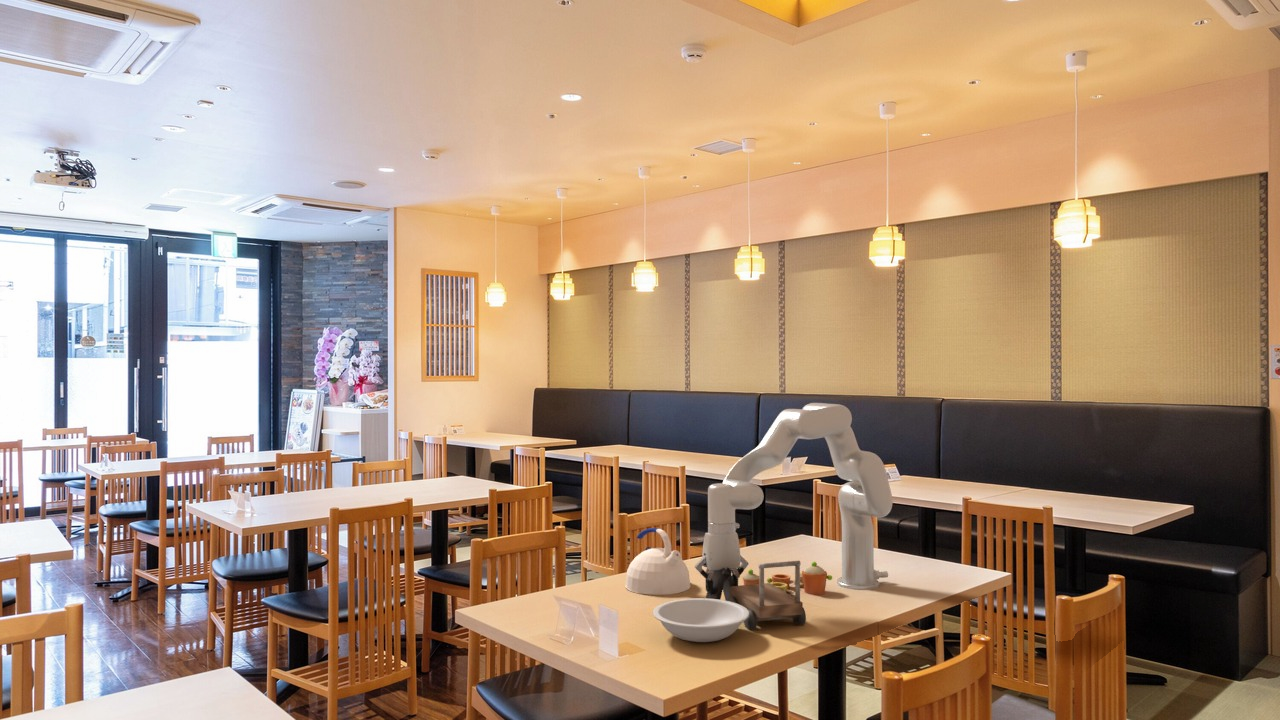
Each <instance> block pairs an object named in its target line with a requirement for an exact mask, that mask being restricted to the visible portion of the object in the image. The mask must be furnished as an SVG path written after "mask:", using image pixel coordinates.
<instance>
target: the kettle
mask: <svg viewBox="0 0 1280 720" xmlns="http://www.w3.org/2000/svg"><path fill="white" fill-rule="evenodd" d="M651 533H657V534H658V535H659V536H660V537H661V539H662V541H663V546H664V548H662V547H650V546H647V547H645V549H644V550H643V551H641V552H640V553H639V554H637V555H636V556H635V557H634V559H633V560H632V561H631V562H630V563H629V565H628V568H627V571H626V577H625V586H624V587H625V588H626V589H627V590H628V591H630V592H632V593H635V594H640V595H648V596H649V595H650V596H666V595H675V594H680V593H684V592H686V591H689V589H690V588H691V587H692V586H691V585H692V584H691V578H690V571H689V569H688V566H687V564H686V563H685V561H684V560H683V559H682V554H681V552H680V551H679V550H675V549H674V550H672V543H671V539H670V537H669V534H668V533H667V532H666V531H665V530H663V529H662V528H659V527H649V528H646V529H644V530H642V531H640V533H639V534H637V536H636V539H638V540H641V539H643V538H644V537H645V536H647V534H651Z"/></svg>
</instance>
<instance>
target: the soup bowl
mask: <svg viewBox="0 0 1280 720" xmlns="http://www.w3.org/2000/svg"><path fill="white" fill-rule="evenodd" d="M652 614H653V616H654V618H655V619H656V620H658V621H660V623H661V624H662V626H663V627H664V629H666V630H667V632H669V633H670V634H671V635H673V636H674V637H676V638H678V639H680V640H685V641H687V642H696V643H711V642H716V641H721V640H723V639H726V638H728V637H730V636H732V635H733V634H734V633H735V632H736V631H737V630H738V629H739V628H740V626H741V624H742V623H744V621H745V620H746V619H747V618H748V617H749V611H748V610H747V609H746V608H745V607H743V606H742V605H739V604H737V603H733V602H730V601H726V600H725V599H720V600H719V599H708V598H706V597H705V598H703V597H702V598H701V597H699V598H698V597H697V598H696V597H695V598H681V599H674V600H670V601H666V602H663V603H661V604H659V605H657V606H655V607H654V609H653V612H652Z"/></svg>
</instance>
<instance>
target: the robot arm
mask: <svg viewBox="0 0 1280 720" xmlns="http://www.w3.org/2000/svg"><path fill="white" fill-rule="evenodd" d="M852 416H853V415H852V413H851V411H850V409H849V408H848V407H847V406H845V405H842V404H839V403H837V404H836V403H825V402H810V403H808V404H805V405H804V406H803V407H802V408H801V409H800V408H786V409H784V410H781V412H779V414H778V415H777V417H776V418H775V419H774V421H773V423H772V424H771V425H770V427H769V429H768V430H767V432H766V433H765V434H764V436H763V438H762V439H761V441H760V442H759V444H758V445H757V446H756V447H755V448H754V449H752V450H751V451H749V452H748V453H747V454H745V455H743V457H741V458H740V459H738V461H737V462H735V463H734V465H733V466H732V467H731V468H730V469H729V471H728V473H727V475H726V476H725V478H724V479H723V481H722V483H721V482H720V483H711V484H710V485H709V486H708V487H707V532H705V533H704V538H703V543H702V544H703V545H702V554H701V555H702V557H701V558H700V559H699V560H698V561H697V563H696V564H695V565H694V568H695V569H696V570H697V572H698V573H699V574H700V575H701V576H703V577H704V579H705V591H706V594H707V593H709V594H710V595H713V580H712V576H713V573H714V571H715V570H721V569H722V568H725V570H727V568H729V569H730V570H731V579H732V582H733V585H734V586H739V579H740V577H741V575H742V574H743V573H744V571H745V570H746V568H747V567H748V566H749V564H750V563H749V561H747V560H746V559H745V558H744V557H743V556H742V555H741V548H740V546H741V545H740V540H739V536H738V533H737V532H736V531H737V529H739V528H740V523H739V522H736V510H754V509H756V508H758V507H760V505H762V503H763V501H764V497H765V496H764V491H763V489H762V488H761V487H760V486H759V485H757V484H756V483H753V482H751V480H752V479H754V477H756V476H758V474H760V473H763V472H765V471H768V470H771V469H773V468H776V467H777V466H780V465H781V464H783V462H784V461H785V460H786V457H788V455H789V453H790V452H791V451H792V449H793V447H794V445H795V444H796V442H797V441H798V440H799V439H801V440H816V439H821V438H823V439H824V440H825V441H826V444H827V447H828V449H829V453H830V457H831V461H832V463H833V467H834V471H835V473H836V475H837V476H838V477H839V478H840V479H841V480H845V481H847V482H846V483H844V484H842V485H841V487H840V489H839V491H838V493H837V499H838V501H837V503H838V506H839V512H840V518H841V519H840V520H841V577H838V578H837V579H836V584H837V585H838V586H839V587H841V588H844V589H848V590H849V589H851V590H863V591H864V590H865V591H867V590H874V589H877V588H879V587H880V581H879V579H880V578H882V579H884V578H886V579H887V578H889V573H888V571H887V570H884V571H880V570H879V569H878V570H877V569H875V564H874V563H875V562H874V561H875V559H874V557H875V556H874V554H875V553H874V551H875V550H874V548H875V547H874V545H875V543H874V534H875V533H874V525H873V524H874V523H873V520H872V518H884V517H886V516H888V515H889V514H890V512H891V511H892V508H893V494H892V491H891V487H890V483H889V479H888V475H887V470H886V467H885V464H884V462H883V461H882V459H881V458H880V457H879V455H877V454H876V453H873V452H871V451H866V450H861V449H860V447H859V445H858V444H859V443H858V441H857V439H856V436H855V433H854V431H853V428H852V427H851V424H852V421H853V418H852ZM871 517H872V518H871ZM703 567H705V568H706V569H705V570H704V569H703Z"/></svg>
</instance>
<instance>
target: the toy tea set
mask: <svg viewBox="0 0 1280 720" xmlns="http://www.w3.org/2000/svg"><path fill="white" fill-rule="evenodd" d="M741 578H742V580H743V585H753V584H759V574H758V575H757V574H755V573H754V571H753V569H751V568H750V569H748V571H747V573H746V574H744V575H743V576H742V577H741ZM832 580H833V576H832V575H831V574H828V572H827V571H826V570H825V569H823V567H822V566H819V565H818V563H817V562H816V561H812V562H811V565H809V566H806V567H805V568H804V569H803V570H802V571H801V572H800V588H803V590H804V593H806V594H808V595H811V596H812V595H813V596H814V595H815V596H816V595H818V596H819V595H824V594H825V592H826V584H827V581H832ZM766 583H770V584H772V585H774V586H775V587H777V588H779V589H781V590H782V591H784V592H786V593H787V594H789V595H791V596H792V595H795V590H791V589H790V584H792V585H793V583H794V584H795V579H792V580H791V575H788V574H784V573H783V574H782V573H775V574H772V575H771V577H768V578H767V580H766ZM789 589H790V590H789Z"/></svg>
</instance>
